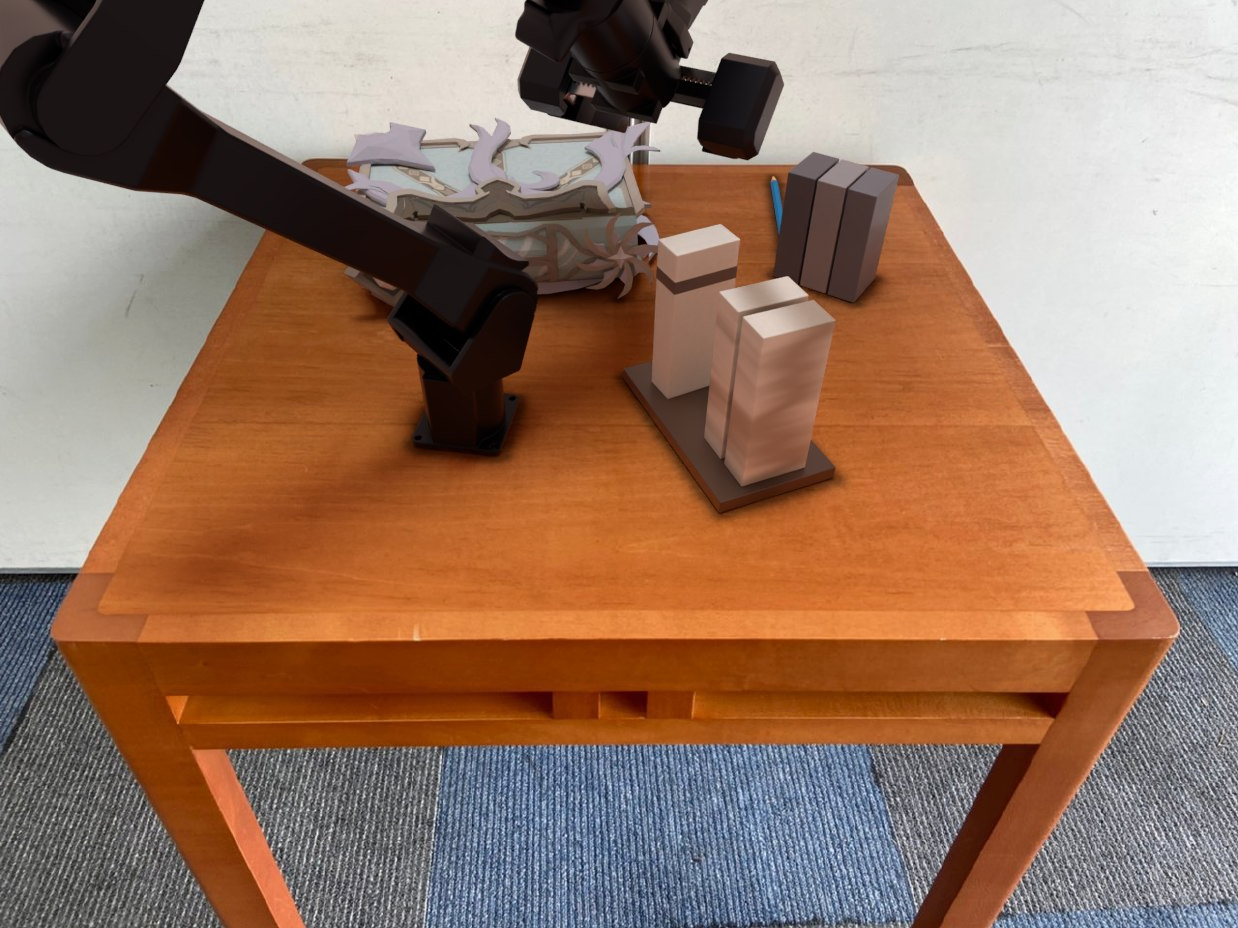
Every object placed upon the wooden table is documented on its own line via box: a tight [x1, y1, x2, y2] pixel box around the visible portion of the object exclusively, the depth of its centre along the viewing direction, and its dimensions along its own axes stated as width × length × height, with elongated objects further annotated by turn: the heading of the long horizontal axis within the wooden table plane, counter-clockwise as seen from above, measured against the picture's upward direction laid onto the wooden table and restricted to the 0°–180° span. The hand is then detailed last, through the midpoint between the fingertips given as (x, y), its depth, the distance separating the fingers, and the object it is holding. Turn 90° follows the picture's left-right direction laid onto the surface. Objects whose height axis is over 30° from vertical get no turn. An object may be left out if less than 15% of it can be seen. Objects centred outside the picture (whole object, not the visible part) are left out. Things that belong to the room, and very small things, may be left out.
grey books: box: [772, 151, 900, 304], centre depth 79 cm, size 5×8×10 cm, turn 56°
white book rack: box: [622, 276, 837, 514], centre depth 62 cm, size 9×16×13 cm, turn 23°
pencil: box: [770, 175, 783, 234], centre depth 91 cm, size 1×17×1 cm, turn 177°
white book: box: [652, 223, 741, 399], centre depth 65 cm, size 5×2×12 cm, turn 118°
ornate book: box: [343, 117, 661, 308], centre depth 83 cm, size 23×10×30 cm
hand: (676, 139), depth 72 cm, fingers open, 9 cm apart
